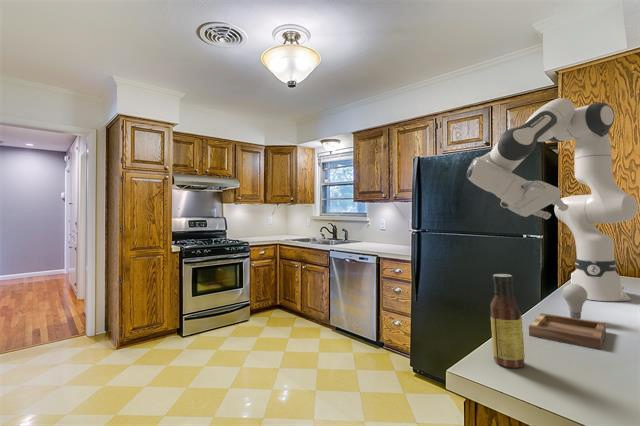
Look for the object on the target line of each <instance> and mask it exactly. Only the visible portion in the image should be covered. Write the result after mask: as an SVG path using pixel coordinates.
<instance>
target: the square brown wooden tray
mask: <svg viewBox="0 0 640 426" xmlns="http://www.w3.org/2000/svg"><path fill="white" fill-rule="evenodd" d="M606 333H607V332H606V322H601V321H595V320H589V319H582V318H580V319H576V318H571V317H568V316H563V315H555V314H549V313H540V314H539V315H538V316H537V317H536V318H535V319H534V320H533V321H532V322H531V324H530V325H528V335H529V336H531V337H536V338H540V337H541V339H545V338H546V340H551V339H552V340H551V341H556V340H557V341H558V342H561V341H562V343H566V342H567V343H568V344H571V343H572V344H573V345H576V344H577V345H578V346H581V345H583V346H582V347H586V346H588V347H587V348H591V347H592V348H593V349H597V350H601V348H602V345H603V342H604V339H605V336H606ZM557 341H556V342H557ZM577 345H576V346H577Z"/></svg>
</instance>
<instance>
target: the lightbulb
mask: <svg viewBox="0 0 640 426" xmlns="http://www.w3.org/2000/svg"><path fill="white" fill-rule="evenodd" d="M562 296H563V299H564V300H565V302H566V303H567V306H568V311H569V315H570V318H576V319H582V312H583V306H584V304H585V302H586V301H587V300H588V299H587V292H586V290H585V289H584V288H583V287H582V286H580V285H577V284H571V283H569V284H567V285H565V286H564V287H563V289H562Z"/></svg>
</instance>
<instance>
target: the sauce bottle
mask: <svg viewBox="0 0 640 426" xmlns="http://www.w3.org/2000/svg"><path fill="white" fill-rule="evenodd" d="M492 281H493V283H494V284H493V285H494V291H493V292H494V295H493V298H492V299H491V301H490V305H489V307H490V329H491V339H492V341H491V343H492V354H493V360H494V361H495V363H497V364H498V365H500V366H502V367H505V368H510V369H511V368H513V369H517V368H521V367H524V365H525V356H526V355H525V345H524V332H523V321H522V319H523V318H522V312H521V308H520V306H519V304H518V302H517V298H516V296H515V294H514V285H513V282H514V277H513V275H511V274H508V273H494V274H493V275H492Z"/></svg>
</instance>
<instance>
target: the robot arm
mask: <svg viewBox="0 0 640 426" xmlns="http://www.w3.org/2000/svg"><path fill="white" fill-rule="evenodd" d="M614 122H615V112H614V109H613V108H612V106H611V105H609V104H608V103H607V102H594V103H591V104H588V105H584V106H579V107H576V106H575V104H574V103H573V102H572V100H570V99H568V98H566V97H564V98H561V97H560V98H556V99H553V100H551V101H549V102H547V103H545V104H544V105H542V106H540V107H539V108H538V109H536V110H535V111H534V112H532V114H531V115H530V116H529V118H527V120H526V121H525V122H524V124H523V125H522V124H521V125H520V126H515V127H513V128H509V129H507V130H505V131H504V132H503V134H502V135H501V137H500V138H499V140H498V141H497V143H496V144H495V145H494V147H492V149H491V150H490V151H489V152H487V153H486V154H484V155H482V156H479V157H476V156H475V158H473V159H472V161H471V162H470V163H469V164H470V165H469V166H468V168H467V171H466V178H467V179H468V180H469V181H470V182H471V183H472V184H474V186H477V187H478V188H480V189H482V190H484V191H485V192H489V193H491V194H493V195H495V196H496V197H497V198H499V199H500V204H499V205H500V206H501V207H502V208H504V209H508V210H510V211H511V212H514V213H515V214H517V215H518V216H521V217H525V218H527V217H529V216H531V215H533V216H535V217H539V218H543V219H545V220H548V219H550V218H551V216H552V214H551V213H550V212H548V211H543V210H542V209H544V208H546V207H548V206H549V205H553V207H554V208H553V210H554V214H555V216H556V218H557V219H558V220H559V221H561V222H562V223H564V224H565V225H566V226H567V227H568V229H569V230H570V231H571V233H572V235H573V238H574V243H575V250H576V253H575V254H576V258H575V262H574V264H575V270H574V271H572V272H571V274H570V284H577V285H580V286H582V287H583V288H584V289H585V290H586V292H587V299H586V300H590V301H597V302H599V301H600V302H619V301H622V302H623V301H624V302H625V301H627V302H628V301H630V302H631V297H630V296H629V295H628V294H627V293H626V292H625V291H624V288H625V287H624V286H623V279H622V278H623V277H622V276H621V275H620V274H619V273H617V262H616V260H615V252H614V251H615V245H614V240H613V239H612V237H611V236H609V235H607V234H606V233H603V232H601V231H600V230H599V229H598V228H597V226H596V224H616V223H617V224H619V223H624V222H629V221H632V220H634V218H635V217H636V216H637V214H638V211H639V203H638V202H637V199H636V198H635V197H634V196H632V194H629V193H627V192H626V191H624V190H623V189H622V188H620V187H619V185H618V184H617V183H616V180H615V178H614V174H613V163H612V159H613V158H612V157H613V156H612V145H611V141H610V136H609V131H610V129H611V128H612V126H613V125H614ZM573 140H574V141H575V147H574V154H573V155H574V162H573V163H574V179H575V180H576V181H577V182H578V183H580V184H582V185H584V186H587V187H589V190H590V194H589V193H588V194H576V195H570V196H569V195H568V196H566V197H561V195H562V193H563V192H562V190H561V189H560V188H559V187H557V186H554V185H552V184H550V183H548V182H545V181H542V180H527V179H525V178H523V177H521V176H519V175H517V174H515V173H513V171H514V170H515V169H516V168H518V166H519V165H520V164H521V163H522V162H523V161H524V160H525V159H526V158H527V157H528V156H529V155H530V154H532V153H533V152H534V151H535V149H536V147H537V142H540V143H545V142H547V141H550V142H552V143H553V142H554V143H562V142H566V141H567V142H568V141H573ZM560 197H561V198H560Z"/></svg>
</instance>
